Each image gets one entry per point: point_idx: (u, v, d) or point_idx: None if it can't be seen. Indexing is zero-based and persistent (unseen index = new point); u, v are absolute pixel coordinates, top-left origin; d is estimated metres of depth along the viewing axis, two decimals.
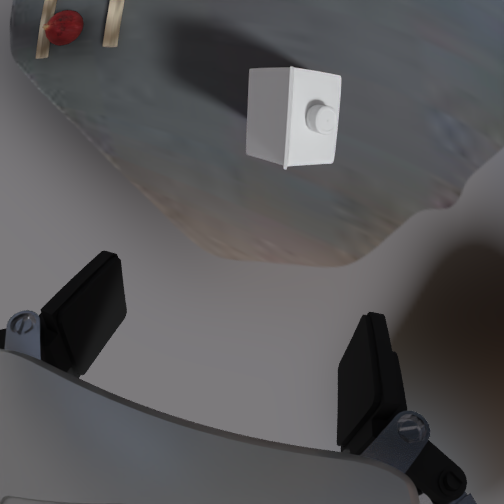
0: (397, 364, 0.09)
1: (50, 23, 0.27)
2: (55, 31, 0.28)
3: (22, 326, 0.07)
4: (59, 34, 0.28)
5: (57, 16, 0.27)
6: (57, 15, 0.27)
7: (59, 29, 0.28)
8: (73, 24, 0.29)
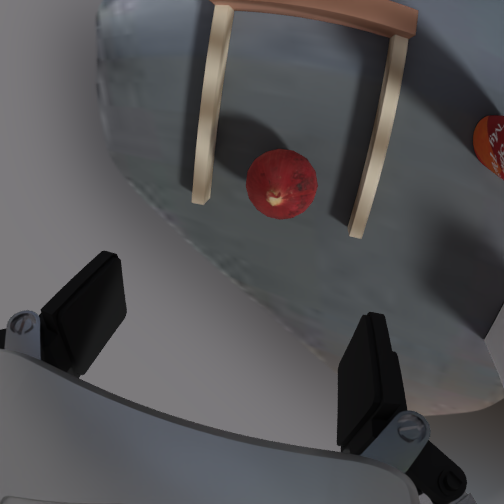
0: (398, 364, 0.09)
1: (284, 195, 0.22)
2: (290, 209, 0.23)
3: (22, 326, 0.07)
4: (292, 213, 0.24)
5: (291, 176, 0.22)
6: (291, 174, 0.22)
7: (296, 206, 0.23)
8: (314, 194, 0.24)
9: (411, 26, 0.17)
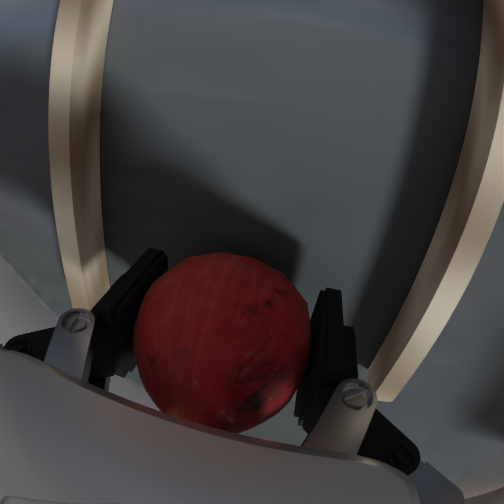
0: (354, 338, 0.10)
1: None
2: None
3: (74, 324, 0.08)
4: None
5: (229, 378, 0.07)
6: (230, 374, 0.07)
7: None
8: (301, 378, 0.09)
9: None
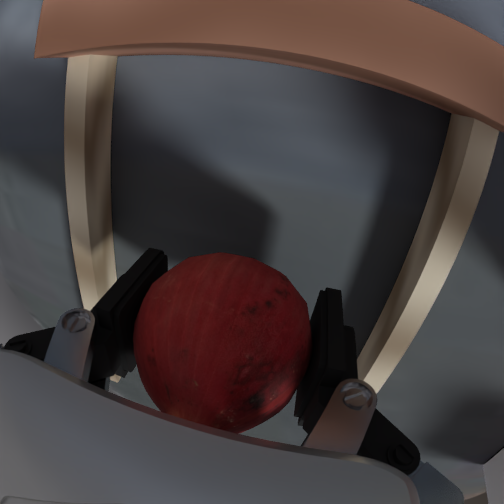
0: (354, 338, 0.10)
1: None
2: None
3: (74, 324, 0.08)
4: None
5: (229, 379, 0.07)
6: (230, 374, 0.07)
7: None
8: (301, 379, 0.09)
9: None
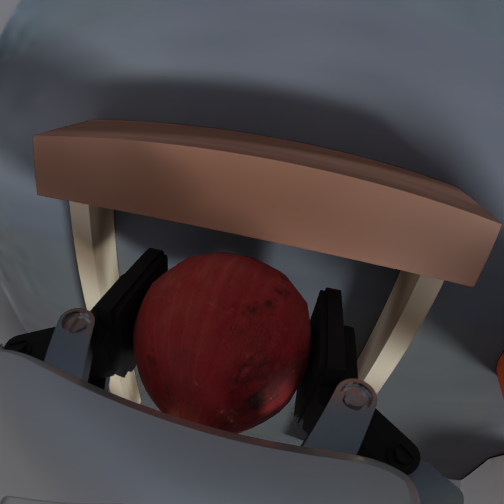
0: (354, 338, 0.10)
1: None
2: None
3: (74, 324, 0.08)
4: None
5: (229, 378, 0.07)
6: (230, 374, 0.07)
7: None
8: (301, 378, 0.09)
9: (473, 268, 0.08)
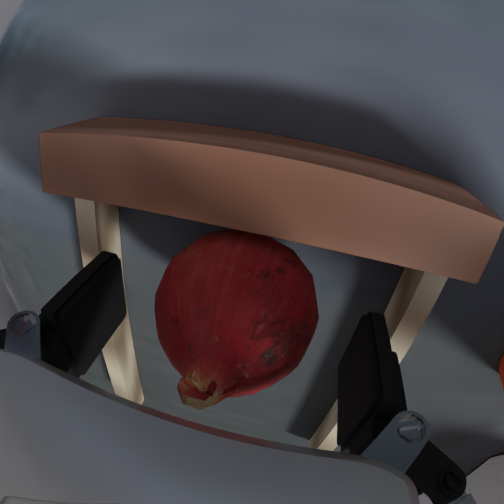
0: (398, 364, 0.09)
1: (226, 386, 0.08)
2: (247, 394, 0.09)
3: (22, 326, 0.07)
4: None
5: (246, 334, 0.08)
6: (246, 330, 0.08)
7: (264, 387, 0.09)
8: (308, 344, 0.10)
9: (476, 265, 0.08)
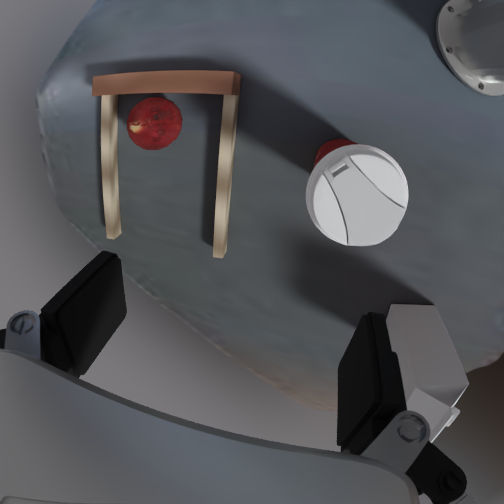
0: (398, 364, 0.09)
1: (142, 123, 0.26)
2: (151, 135, 0.28)
3: (22, 326, 0.07)
4: (156, 140, 0.28)
5: (149, 110, 0.27)
6: (149, 109, 0.27)
7: (156, 133, 0.28)
8: (174, 124, 0.29)
9: (227, 88, 0.27)
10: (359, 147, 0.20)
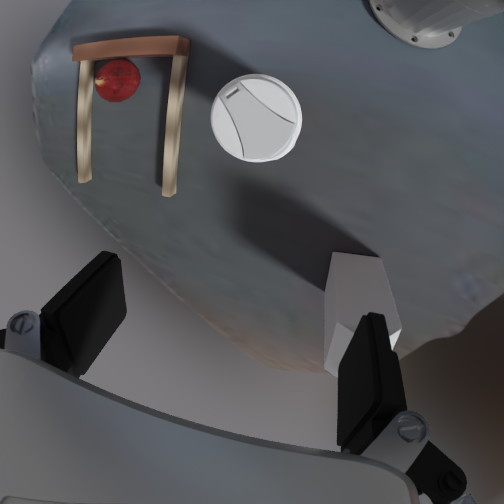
0: (397, 364, 0.09)
1: (105, 78, 0.29)
2: (111, 87, 0.30)
3: (22, 326, 0.07)
4: (116, 91, 0.31)
5: (111, 68, 0.29)
6: (111, 68, 0.29)
7: (116, 86, 0.31)
8: (132, 80, 0.32)
9: (173, 48, 0.30)
10: (252, 75, 0.22)
